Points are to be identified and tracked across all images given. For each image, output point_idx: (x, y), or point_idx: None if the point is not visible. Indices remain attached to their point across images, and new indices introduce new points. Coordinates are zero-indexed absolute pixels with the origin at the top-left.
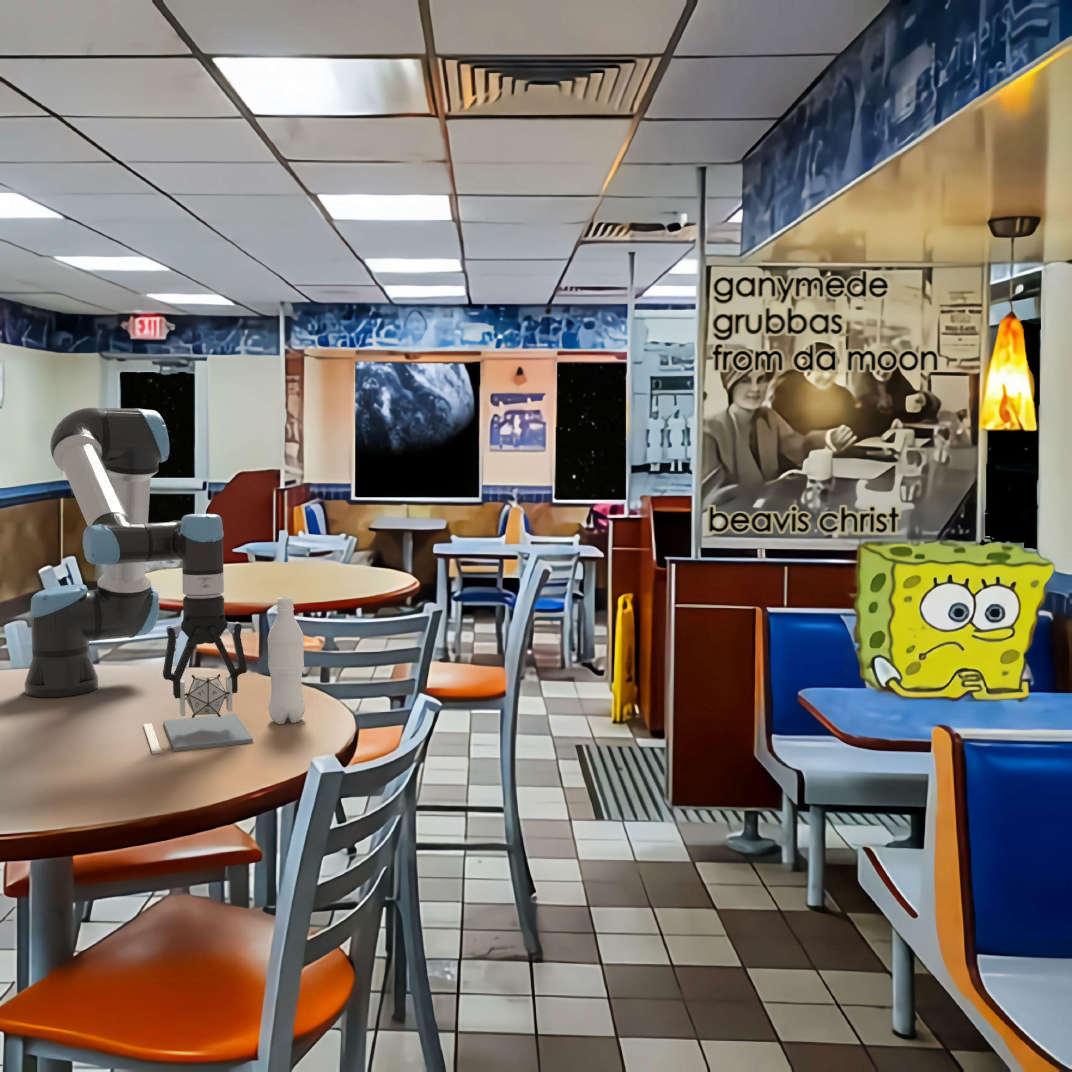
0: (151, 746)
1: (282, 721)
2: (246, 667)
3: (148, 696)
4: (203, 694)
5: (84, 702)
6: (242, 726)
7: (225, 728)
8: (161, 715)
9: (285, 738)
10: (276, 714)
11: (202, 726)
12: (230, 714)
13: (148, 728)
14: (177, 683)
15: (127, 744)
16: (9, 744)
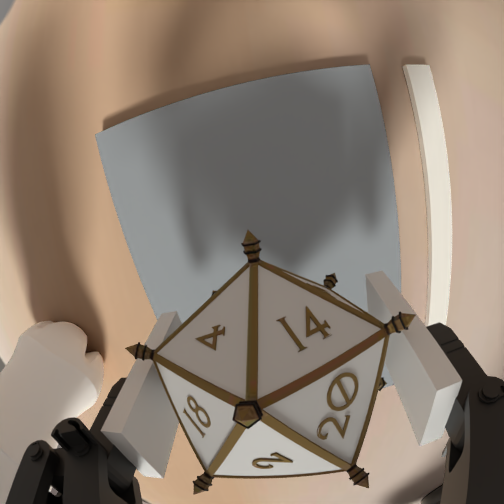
0: (440, 121)
1: (65, 322)
2: (22, 461)
3: (377, 493)
4: (287, 316)
5: None
6: (153, 295)
7: (205, 282)
8: (382, 432)
9: (32, 179)
10: (67, 336)
11: None
12: None
13: None
14: (467, 384)
15: (489, 202)
16: None
